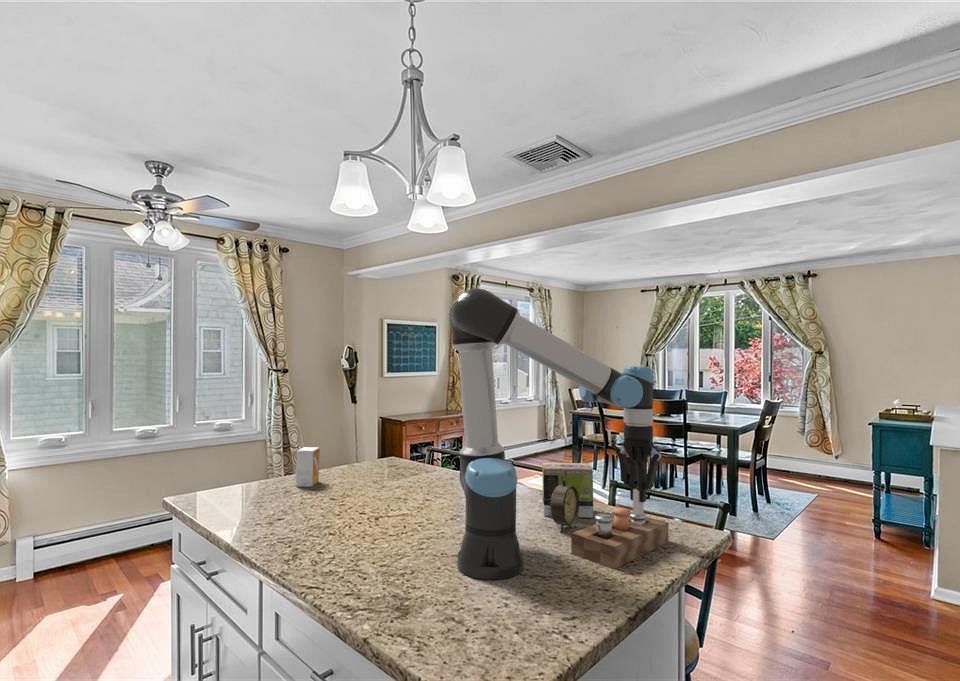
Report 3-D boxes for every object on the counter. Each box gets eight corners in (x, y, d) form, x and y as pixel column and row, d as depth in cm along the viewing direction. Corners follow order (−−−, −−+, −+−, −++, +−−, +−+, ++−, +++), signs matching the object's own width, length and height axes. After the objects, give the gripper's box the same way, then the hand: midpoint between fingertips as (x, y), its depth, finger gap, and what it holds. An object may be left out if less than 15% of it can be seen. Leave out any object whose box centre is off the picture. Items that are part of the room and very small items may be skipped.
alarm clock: (564, 535, 138) (565, 475, 139) (546, 531, 141) (547, 472, 141) (580, 524, 147) (580, 468, 148) (562, 521, 150) (563, 465, 151)
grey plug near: (606, 541, 121) (606, 520, 121) (591, 536, 124) (591, 516, 124) (616, 537, 124) (616, 516, 124) (601, 532, 127) (601, 512, 127)
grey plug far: (641, 537, 132) (641, 518, 132) (626, 533, 135) (626, 514, 135) (649, 533, 135) (649, 514, 135) (634, 529, 138) (634, 510, 138)
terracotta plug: (624, 534, 127) (624, 513, 127) (609, 529, 130) (609, 509, 130) (633, 530, 130) (634, 510, 130) (618, 525, 133) (618, 506, 133)
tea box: (589, 509, 162) (589, 462, 163) (593, 519, 152) (593, 469, 153) (542, 507, 164) (542, 461, 164) (542, 517, 154) (543, 467, 154)
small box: (312, 487, 185) (313, 450, 186) (295, 486, 185) (296, 450, 186) (319, 481, 193) (319, 446, 194) (302, 481, 193) (303, 446, 194)
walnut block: (614, 569, 116) (614, 547, 116) (571, 553, 125) (571, 533, 125) (668, 541, 134) (668, 522, 134) (627, 530, 143) (627, 512, 143)
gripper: (668, 425, 134) (668, 516, 133) (623, 420, 143) (623, 505, 143) (654, 428, 129) (654, 522, 128) (609, 422, 138) (609, 510, 137)
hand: (638, 513), depth 135 cm, fingers closed
